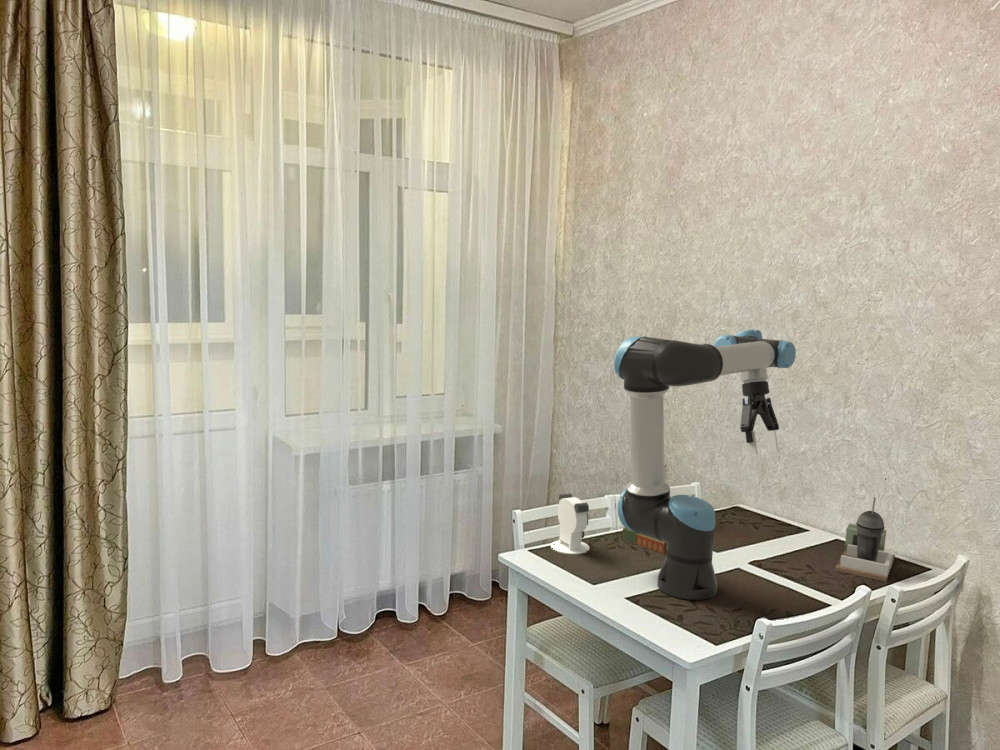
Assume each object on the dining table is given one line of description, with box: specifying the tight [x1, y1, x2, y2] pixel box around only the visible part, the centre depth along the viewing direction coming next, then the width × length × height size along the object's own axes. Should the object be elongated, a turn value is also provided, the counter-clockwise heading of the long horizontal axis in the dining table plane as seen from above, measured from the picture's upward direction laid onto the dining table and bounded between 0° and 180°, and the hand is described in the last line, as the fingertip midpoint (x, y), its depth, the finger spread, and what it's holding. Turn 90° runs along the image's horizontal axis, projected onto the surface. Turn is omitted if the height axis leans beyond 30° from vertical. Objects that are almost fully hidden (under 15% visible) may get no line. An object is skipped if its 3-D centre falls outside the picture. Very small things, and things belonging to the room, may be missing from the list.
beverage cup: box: [855, 496, 885, 562], centre depth 220 cm, size 7×7×20 cm
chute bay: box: [840, 544, 894, 577], centre depth 221 cm, size 12×12×3 cm
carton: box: [621, 526, 667, 555], centre depth 235 cm, size 8×16×4 cm, turn 40°
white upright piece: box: [550, 493, 590, 555], centre depth 228 cm, size 12×11×15 cm
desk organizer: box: [834, 522, 896, 582], centre depth 223 cm, size 22×13×8 cm, turn 148°
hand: (763, 453), depth 230 cm, fingers open, 13 cm apart
